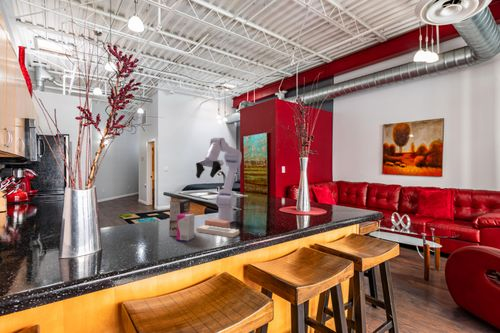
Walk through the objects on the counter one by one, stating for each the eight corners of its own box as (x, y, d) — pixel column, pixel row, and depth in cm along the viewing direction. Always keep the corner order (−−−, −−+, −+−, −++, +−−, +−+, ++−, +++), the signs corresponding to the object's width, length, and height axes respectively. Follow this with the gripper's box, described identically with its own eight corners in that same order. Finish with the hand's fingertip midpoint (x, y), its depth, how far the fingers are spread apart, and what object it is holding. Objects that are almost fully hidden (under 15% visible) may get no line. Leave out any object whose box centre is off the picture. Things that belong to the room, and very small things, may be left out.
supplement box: (194, 238, 119) (195, 213, 119) (188, 242, 113) (188, 215, 113) (182, 237, 120) (183, 212, 120) (176, 240, 115) (176, 214, 114)
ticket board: (204, 228, 136) (204, 224, 136) (239, 233, 129) (239, 229, 129) (196, 231, 130) (196, 227, 130) (232, 237, 122) (232, 232, 122)
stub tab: (209, 225, 141) (210, 218, 141) (229, 228, 137) (229, 221, 137) (204, 227, 137) (205, 220, 137) (225, 231, 132) (225, 223, 132)
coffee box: (181, 237, 120) (182, 202, 120) (168, 235, 122) (169, 201, 121) (189, 231, 129) (190, 199, 129) (177, 230, 131) (178, 198, 130)
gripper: (197, 151, 133) (187, 172, 125) (222, 149, 128) (214, 170, 119) (203, 160, 138) (194, 181, 129) (227, 158, 132) (220, 180, 124)
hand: (204, 176), depth 125 cm, fingers open, 7 cm apart
